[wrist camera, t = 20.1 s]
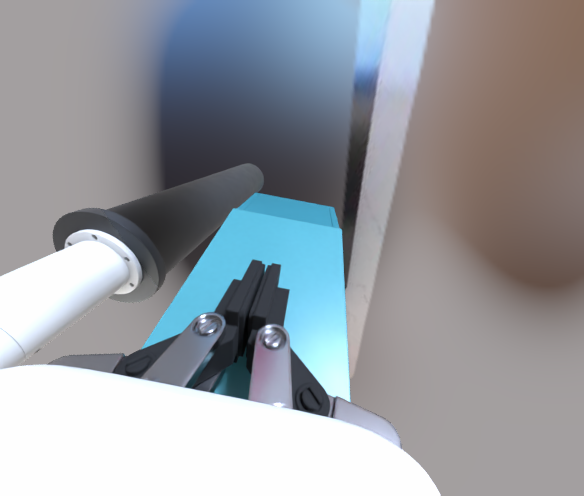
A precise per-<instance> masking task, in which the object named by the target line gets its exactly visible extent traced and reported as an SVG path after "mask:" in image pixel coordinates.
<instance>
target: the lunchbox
mask: <svg viewBox="0 0 584 496" xmlns="http://www.w3.org/2000/svg"><path fill="white" fill-rule="evenodd" d="M237 209H239V210H244V211H249V212H255V213H260V214H265V215H270V216H276V217H281V218H286V219H291V220H297V221H302V222H307V223H312V224H318V225H323V226H328V227H333V228H338V229H339V225H338V222H337V218H336V214H335V210H334V207H329V206H324V205H318V204H313V203H308V202H303V201H298V200H292V199H287V198H281V197H277V196H271V195H266V194H260V193H255V194H254V195H252V196H251V197H250V198H249V199H248V200H247V201H245V202H244V203H243V204H242V205H241V206H240V207H238V208H237Z"/></svg>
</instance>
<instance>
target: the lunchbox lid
mask: <svg viewBox="0 0 584 496" xmlns="http://www.w3.org/2000/svg"><path fill="white" fill-rule="evenodd" d="M253 259H254V260H259V261H262V264H265V271H266V268H267V266H268V265H271V264H272V263H275V264H280V265H281V271H280V277H279V284H278V287H280V288H285V289H290V291H289V297H288V303H287V309H286V314H285V320H284V326H283V327H284V328H285V329H286V330H287V332H288V333H289V337H290V347H291V348H292V350H293V351H294V352H295V353H296V354H297V356H298V357H299V358H300V359H301V361H302V362H303V363H304V364H305V366H306V367H307V368H308V369H309V371H310V372H311V373H312V374H313V375H314V377H315V378H316V379H317V380H318V382H319V383H320V384H321V385H322V387H323V388H324V389H325V391H326V392H327V394H328V395H330V396H333V397H336V396H339V397H341V398H343V399H345V400H347V401H349V402H351V401H350V381H349V362H348V342H347V323H346V303H345V284H344V264H343V245H342V229H338V228H333V227H328V226H323V225H318V224H312V223H307V222H302V221H297V220H291V219H286V218H281V217H276V216H270V215H265V214H260V213H255V212H249V211H244V210H239V209H234V208H233V209H232V211H231V212H230V214H229V215H228V217H227V219H226V220H225V222H224V223H223V225H222V226H221V228H220V229H219V231H218V232H217V234H216V235H215V237H214V238H213V240H212V242H211V243H210V245H209V246H208V248H207V249H206V251H205V252H204V254H203V255H202V257H201V258H200V260H199V261H198V263H197V265H196V266H195V268H194V269H193V271H192V272H191V274H190V275H189V277H188V278H187V280H186V282H185V283H184V284H183V286H182V288H181V289H180V291H179V292H178V294H177V295H176V297H175V298H174V300H173V301H172V303H171V304H170V306H169V307H168V309H167V311H166V312H165V313H164V315H163V317H162V318H161V320H160V321H159V323H158V324H157V326H156V327H155V329H154V330H153V332H152V333H151V335H150V336H149V338H148V339H147V341H146V343H145V344H144V346H143V347H142V349H143V348H146V347H148V346H151V345H153V344H156V343H158V342H160V341H163V340H165V339H168V338H170V337H173V336H175V335H177V334H180V333H182V332H183V331H184V330H185V329H186V327H187V326H188V325H189V324H190V323H191V322H192V321H193V320H194V319H195V318H196V317H197V316H199V315H201V314H203V313H207V312H214V311H215V309H216V307H217V306H218V304H219V302H220V301H221V299H222V297H223V296H224V294H225V292H226V291H227V289H228V287H229V286H230V284H231V282H232V281H233V279H237V280H242V278H243V276H244V274H245V272H246V270H247V269H248V267H249V265H250V263H251V261H252V260H253ZM246 347H247V346H246ZM246 361H247V358H246V349H245V352H244V355H243V357H241V356H239V358H238V361H237V363H233V364H232V365H230V366H229V367H227V368H226V370H225V372H224V375H223V377H222V378H221V380H220V382H219V384H218V386H217V387H216V389H215V391H214V393H215V394H220V395H225V396H230V397H235V398H240V399H244V400H248V398H249V390H250V382H251V374H250V373H249V371H248V369H247V368H246Z"/></svg>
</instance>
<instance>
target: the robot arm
mask: <svg viewBox="0 0 584 496" xmlns="http://www.w3.org/2000/svg"><path fill="white" fill-rule="evenodd" d="M280 271H281V265H280V264H275V263H272V264H271V265H268V266H267V268H266V271H265V264H262V261H259V260H254V259H253V260H252V261H251V263H250V265H249V267H248V269H247V270H246V272H245V274H244V276H243V278H242V280H237V279H233V281H232V282H231V284H230V286H229V287H228V289H227V291H226V292H225V294H224V296H223V297H222V299H221V301H220V302H219V304H218V306H217V307H216V309H215V311H214V312H207V313H203V314H201V315H199V316H197V317H196V318H195V319H194V320H193V321H192V322H191V323H190V324H189V325H188V326H187V327H186V329H185V330H184V331H183V332H182V333H180V334H177V335H175V336H173V337H170V338H168V339H165V340H163V341H160V342H158V343H156V344H153V345H151V346H148V347H146V348H143V349H141V350H138V351H136V352H134V353H132V354H130V355H129V356H125V355H124V354H123V353H122V354H91V355H69V356H63V357H61V358H58V359H56V360H53V361H52V362H50V363H48V364H47V365H28V366H19V365H20V364H22V363H23V362H24V361H26V360H27V359H28V358H30V357H31V356H32V355H33V354H35V353H36V352H38V351H39V350H40V349H41V348H43V347H44V346H45V345H46V344H48V343H49V342H51V341H52V340H53V339H55V338H56V337H57V336H59V335H60V334H61V333H63V332H64V331H65V330H67V329H68V328H69V327H70V326H72V325H73V324H74V323H76V322H77V321H78V320H80V319H81V318H82V317H83V316H85V315H86V314H87V313H89V312H90V311H92V310H93V309H94V308H95V307H97V306H98V305H99V304H101V303H102V302H103V301H104V300H106V299H107V298H109V297H110V296H111V295H113V294H126V293H129V292H131V291H133V290H134V289H135V288H137V287H138V286H139V285H140V283H141V281H142V269H141V266H140V263H139V261H138V259H137V258H136V256H135V255H134V253H133V252H132V251H131V250H130V249H129V248H128V247H127V246H126V245H125V244H124V243H122V242H121V241H119V240H118V239H117V238H115V237H113V236H111V235H109V234H107V233H104V232H102V231H98V230H91V229H86V230H80V231H78V232H75V233H73V234H71V235H70V236H69V237H68V238H67V240H66V242H65V249H63V250H61V251H58V252H56V253H54V254H51V255H49V256H47V257H44V258H42V259H40V260H37V261H35V262H33V263H30V264H28V265H26V266H24V267H21V268H19V269H17V270H14V271H12V272H10V273H7V274H5V275H3V276H1V277H0V496H441V495H440V493H439V491H438V489H437V488H436V486H435V484H434V483H433V481H432V480H431V479H430V477H429V476H428V474H427V473H426V472H425V470H424V469H423V468H422V467H421V466H420V465H419V464H418V463H417V462H416V461H415V460H414V459H413V458H412V457H410V456H409V455H408V454H407V453H406V452H405V451H403V450H402V446H401V441H400V437H399V435H398V433H397V431H396V429H395V428H394V426H393V425H392V424H391V423H390V422H389V421H388V420H386V419H385V418H383V417H381V416H379V415H377V414H375V413H373V412H371V411H369V410H366V409H364V408H362V407H360V406H358V405H356V404H354V403H351V402H349V401H347V400H345V399H343V398H341V397H339V396H336V397H333V396H330V395H328V394H327V392H326V391H325V389H324V388H323V387H322V385H321V384H320V383H319V382H318V380H317V379H316V378H315V377H314V375H313V374H312V373H311V372H310V371H309V369H308V368H307V367H306V366H305V364H304V363H303V362H302V361H301V359H300V358H299V357H298V356H297V354H296V353H295V352H294V351H293V350H292V348H291V347H290V337H289V333H288V332H287V330H286V329H285V328H284V327H283V326H284V320H285V314H286V309H287V303H288V297H289V291H290V289H285V288H280V287H278V284H279V277H280ZM246 346H247V347H246ZM245 349H246V358H247V361H246V368H247V369H248V371H249V373H250V374H251V382H250V390H249V398H248V400H244V399H240V398H235V397H230V396H225V395H220V394H215V393H214V391H215V389H216V387H217V386H218V384H219V382H220V380H221V378H222V377H223V375H224V372H225V370H226V368H227V367H229V366H230V365H232V364H233V363H237V361H238V358H239V356H241V357H243V355H244V352H245Z"/></svg>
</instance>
